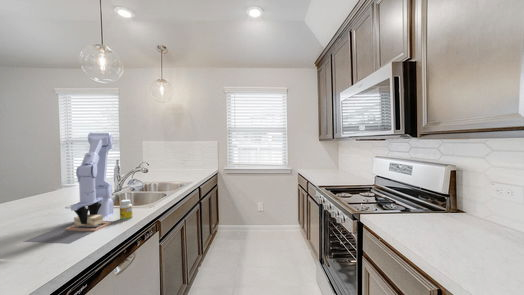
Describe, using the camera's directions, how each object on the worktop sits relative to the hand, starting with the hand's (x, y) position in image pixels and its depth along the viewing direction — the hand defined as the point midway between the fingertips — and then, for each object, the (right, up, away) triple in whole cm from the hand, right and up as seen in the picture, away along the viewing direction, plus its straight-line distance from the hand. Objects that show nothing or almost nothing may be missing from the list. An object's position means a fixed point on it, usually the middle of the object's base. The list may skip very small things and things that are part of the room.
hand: (88, 221), depth 103 cm
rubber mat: (-3, -3, -4) cm, 6 cm away
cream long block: (0, -1, 0) cm, 1 cm away
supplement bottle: (+10, -3, +11) cm, 15 cm away
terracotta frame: (0, -2, 0) cm, 2 cm away
